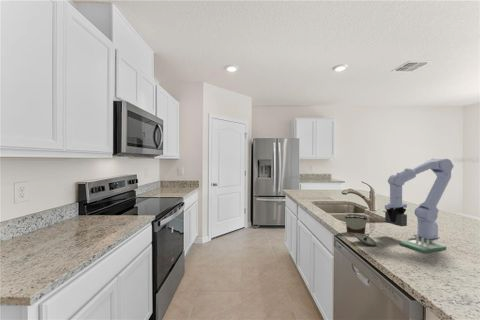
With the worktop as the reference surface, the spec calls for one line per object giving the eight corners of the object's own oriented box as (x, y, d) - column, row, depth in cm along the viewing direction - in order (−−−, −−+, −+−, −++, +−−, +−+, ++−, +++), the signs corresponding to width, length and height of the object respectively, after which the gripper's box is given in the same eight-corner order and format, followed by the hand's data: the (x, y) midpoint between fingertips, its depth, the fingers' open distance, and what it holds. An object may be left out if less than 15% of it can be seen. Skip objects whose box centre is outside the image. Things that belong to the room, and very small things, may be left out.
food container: (365, 231, 146) (365, 214, 146) (367, 234, 140) (367, 216, 140) (342, 229, 149) (342, 213, 149) (344, 232, 143) (344, 215, 143)
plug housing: (386, 220, 144) (386, 210, 144) (406, 225, 132) (407, 214, 132) (381, 221, 142) (381, 210, 142) (401, 226, 131) (401, 215, 131)
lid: (357, 238, 133) (357, 229, 132) (378, 242, 126) (378, 232, 126) (352, 243, 124) (352, 234, 124) (374, 248, 118) (374, 238, 118)
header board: (420, 241, 129) (420, 233, 129) (446, 249, 117) (446, 240, 117) (399, 244, 124) (399, 236, 123) (424, 253, 112) (424, 243, 112)
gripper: (398, 195, 142) (398, 218, 142) (379, 196, 137) (379, 220, 138) (410, 196, 136) (410, 221, 136) (391, 198, 131) (391, 223, 131)
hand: (395, 221), depth 136 cm, fingers closed on plug housing, 4 cm apart
